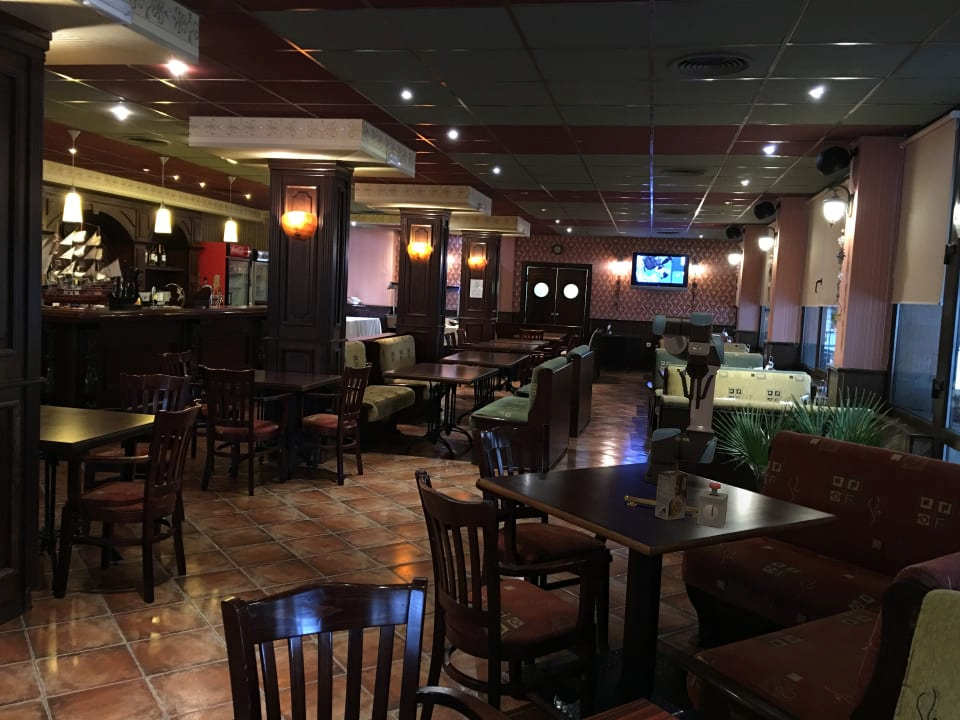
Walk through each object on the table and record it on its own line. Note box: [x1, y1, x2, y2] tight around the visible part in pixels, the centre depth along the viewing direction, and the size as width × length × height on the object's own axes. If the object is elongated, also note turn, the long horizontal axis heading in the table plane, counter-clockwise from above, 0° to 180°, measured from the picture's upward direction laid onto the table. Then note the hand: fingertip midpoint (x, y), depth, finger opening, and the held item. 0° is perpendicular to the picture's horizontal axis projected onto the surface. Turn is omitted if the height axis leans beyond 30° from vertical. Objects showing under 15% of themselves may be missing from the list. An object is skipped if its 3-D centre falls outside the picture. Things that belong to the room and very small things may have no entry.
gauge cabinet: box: [697, 490, 729, 529], centre depth 264 cm, size 11×8×10 cm
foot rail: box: [624, 495, 699, 518], centre depth 278 cm, size 30×2×3 cm, turn 63°
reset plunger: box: [708, 482, 722, 496], centre depth 264 cm, size 4×4×5 cm
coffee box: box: [654, 470, 689, 521], centre depth 269 cm, size 9×6×16 cm
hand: (693, 417), depth 280 cm, fingers closed
